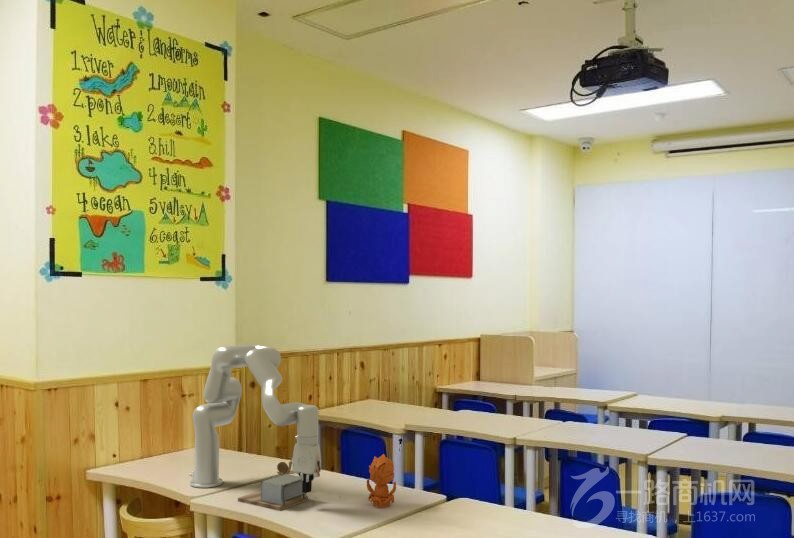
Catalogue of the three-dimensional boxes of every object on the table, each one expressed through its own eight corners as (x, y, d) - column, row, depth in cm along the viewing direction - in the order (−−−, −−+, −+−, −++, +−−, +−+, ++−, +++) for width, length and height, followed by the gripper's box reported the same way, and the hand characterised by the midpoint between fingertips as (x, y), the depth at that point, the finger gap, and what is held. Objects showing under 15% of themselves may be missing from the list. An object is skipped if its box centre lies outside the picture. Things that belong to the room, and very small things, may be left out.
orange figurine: (401, 502, 269) (401, 453, 269) (391, 510, 259) (391, 459, 259) (372, 499, 272) (373, 450, 273) (361, 507, 262) (362, 456, 263)
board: (237, 501, 268) (237, 494, 268) (267, 491, 282) (267, 484, 282) (279, 510, 258) (279, 503, 258) (308, 499, 271) (308, 493, 271)
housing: (260, 500, 264) (260, 481, 265) (284, 492, 275) (284, 473, 275) (282, 505, 259) (282, 485, 259) (306, 496, 270) (306, 477, 270)
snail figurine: (289, 491, 282) (289, 459, 282) (273, 490, 283) (274, 459, 284) (294, 487, 287) (294, 456, 288) (278, 486, 289) (279, 455, 289)
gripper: (284, 439, 263) (283, 491, 262) (317, 444, 255) (316, 498, 254) (298, 436, 269) (297, 486, 269) (330, 441, 261) (329, 493, 260)
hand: (306, 491), depth 261 cm, fingers closed
